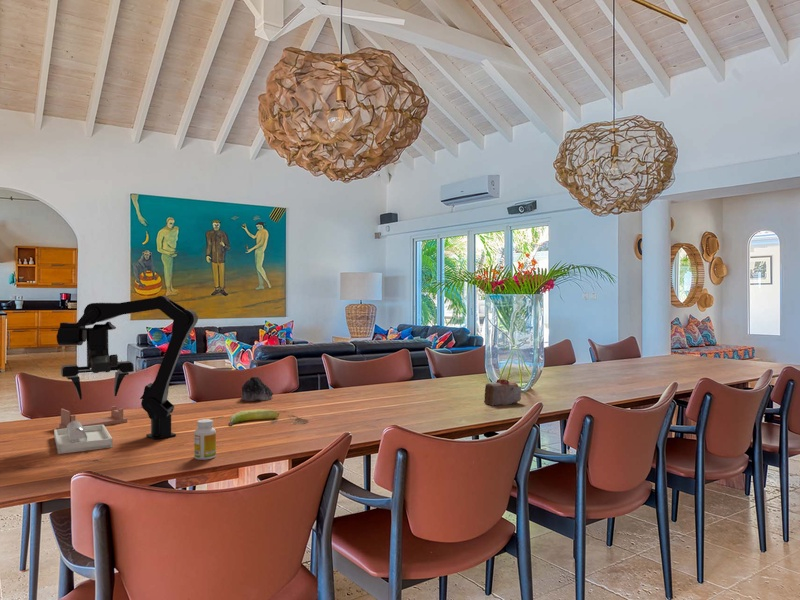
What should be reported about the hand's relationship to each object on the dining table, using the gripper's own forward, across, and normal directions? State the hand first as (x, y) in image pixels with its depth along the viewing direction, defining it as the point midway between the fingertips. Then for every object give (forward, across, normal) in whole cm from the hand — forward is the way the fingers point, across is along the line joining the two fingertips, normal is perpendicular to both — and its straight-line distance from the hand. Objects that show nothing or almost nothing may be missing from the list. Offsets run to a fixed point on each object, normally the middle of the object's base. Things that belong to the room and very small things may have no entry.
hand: (98, 397), depth 175 cm
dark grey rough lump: (+13, +63, +37) cm, 74 cm away
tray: (+12, -5, -3) cm, 13 cm away
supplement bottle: (+13, +20, -37) cm, 44 cm away
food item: (+14, +140, -25) cm, 143 cm away
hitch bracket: (+12, +1, +20) cm, 23 cm away
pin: (+11, -5, -2) cm, 12 cm away
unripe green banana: (+13, +46, -2) cm, 48 cm away
